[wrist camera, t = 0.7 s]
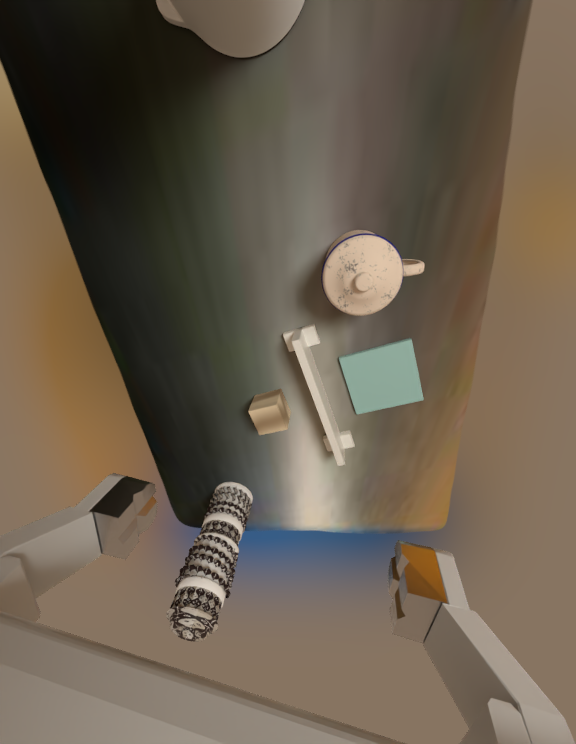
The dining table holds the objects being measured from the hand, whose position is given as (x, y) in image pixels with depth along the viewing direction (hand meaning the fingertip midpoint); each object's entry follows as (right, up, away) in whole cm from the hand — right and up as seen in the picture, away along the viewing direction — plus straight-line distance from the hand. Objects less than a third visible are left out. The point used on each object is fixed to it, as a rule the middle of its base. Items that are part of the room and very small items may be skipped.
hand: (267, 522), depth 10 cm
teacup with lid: (+12, +20, +33) cm, 40 cm away
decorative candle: (-11, -22, +58) cm, 63 cm away
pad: (+16, +4, +41) cm, 44 cm away
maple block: (-2, -1, +46) cm, 46 cm away
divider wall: (+6, +2, +43) cm, 44 cm away
